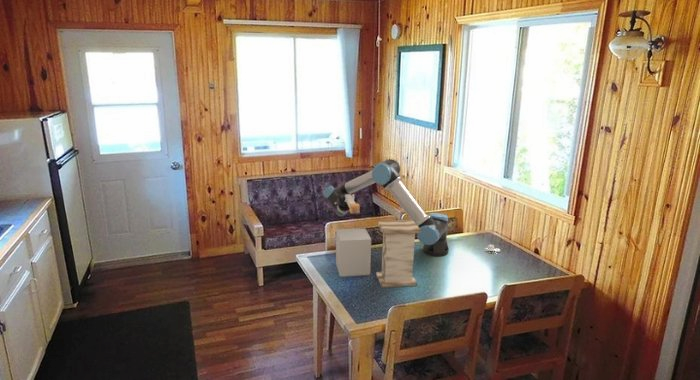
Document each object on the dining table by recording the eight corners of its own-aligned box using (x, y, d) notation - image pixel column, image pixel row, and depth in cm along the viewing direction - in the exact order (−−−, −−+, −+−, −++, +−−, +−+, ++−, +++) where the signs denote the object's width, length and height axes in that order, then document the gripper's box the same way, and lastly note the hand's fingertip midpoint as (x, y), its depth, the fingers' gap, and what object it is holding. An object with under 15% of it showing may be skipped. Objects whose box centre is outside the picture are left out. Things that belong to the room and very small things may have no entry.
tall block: (364, 261, 251) (365, 228, 246) (370, 274, 236) (371, 239, 231) (335, 263, 249) (336, 229, 243) (339, 276, 233) (340, 240, 228)
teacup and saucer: (500, 251, 270) (501, 245, 269) (497, 255, 263) (497, 249, 262) (486, 248, 274) (487, 241, 273) (482, 252, 268) (482, 246, 267)
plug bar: (343, 199, 251) (343, 192, 250) (351, 199, 252) (351, 192, 251) (350, 213, 229) (350, 206, 228) (359, 213, 229) (359, 205, 228)
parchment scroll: (375, 274, 236) (377, 221, 228) (409, 272, 239) (412, 219, 231) (382, 287, 223) (384, 230, 215) (417, 285, 226) (420, 229, 217)
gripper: (358, 211, 266) (365, 202, 243) (331, 212, 263) (335, 203, 241) (357, 199, 267) (364, 189, 245) (330, 199, 265) (335, 190, 242)
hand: (350, 196), depth 243 cm, fingers closed on plug bar, 3 cm apart
